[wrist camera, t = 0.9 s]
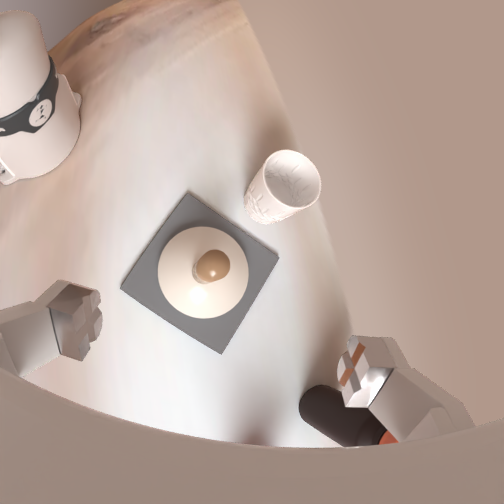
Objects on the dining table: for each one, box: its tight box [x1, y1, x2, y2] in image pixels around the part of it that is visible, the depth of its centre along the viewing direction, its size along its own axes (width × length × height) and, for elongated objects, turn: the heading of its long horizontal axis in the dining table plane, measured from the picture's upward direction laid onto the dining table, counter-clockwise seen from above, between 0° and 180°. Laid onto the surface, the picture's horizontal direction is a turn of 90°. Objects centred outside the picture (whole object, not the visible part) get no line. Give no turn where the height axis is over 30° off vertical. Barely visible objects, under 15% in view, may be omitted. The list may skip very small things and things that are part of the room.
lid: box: [158, 227, 249, 318], centre depth 35 cm, size 12×12×9 cm
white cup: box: [244, 149, 321, 225], centre depth 40 cm, size 8×8×10 cm
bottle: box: [299, 385, 398, 447], centre depth 32 cm, size 7×7×20 cm
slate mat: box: [120, 193, 279, 355], centre depth 39 cm, size 16×16×1 cm
